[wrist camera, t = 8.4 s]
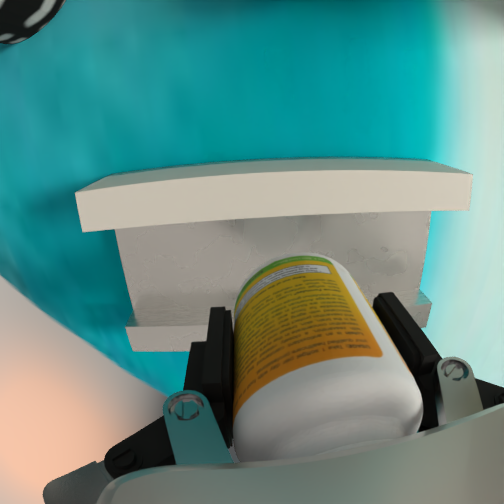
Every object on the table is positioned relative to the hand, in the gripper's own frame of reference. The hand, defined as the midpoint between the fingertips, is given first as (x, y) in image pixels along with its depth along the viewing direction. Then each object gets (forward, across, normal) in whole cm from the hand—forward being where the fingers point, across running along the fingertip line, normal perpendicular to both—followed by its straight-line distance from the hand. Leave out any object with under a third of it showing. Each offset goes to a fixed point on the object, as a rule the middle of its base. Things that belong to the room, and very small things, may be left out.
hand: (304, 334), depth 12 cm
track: (+9, 0, 0) cm, 9 cm away
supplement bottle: (+2, 0, 0) cm, 2 cm away
